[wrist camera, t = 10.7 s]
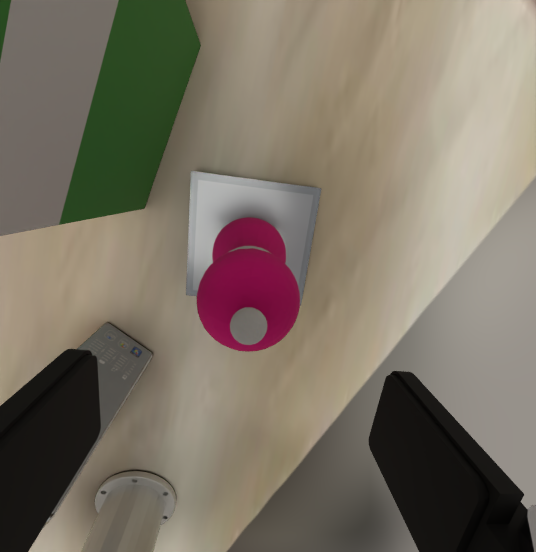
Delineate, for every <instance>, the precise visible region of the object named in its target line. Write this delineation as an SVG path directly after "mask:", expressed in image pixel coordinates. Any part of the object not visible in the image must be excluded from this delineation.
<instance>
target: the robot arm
mask: <svg viewBox="0 0 536 552" xmlns="http://www.w3.org/2000/svg"><path fill="white" fill-rule="evenodd" d="M100 429H101V418H100V399H99V381H98V362H97V357H96V356H95V355H92V353H91V351H89V350H79V349H67V350H66V351H64V352H63V353H62V354H61V355H60V356H58V357H57V358H56V359H55V360H54V361H53V362H51V363H50V364H49V365H48V366H47V367H45V368H44V369H43V370H42V371H41V372H40V373H38V374H37V375H36V376H35V377H34V378H33V379H31V380H30V381H29V382H28V383H27V384H26V385H24V386H23V387H22V388H21V389H20V390H19V391H17V392H16V393H15V394H14V395H13V396H12V397H10V398H9V399H8V400H7V401H6V402H5V403H3V404H2V405H1V406H0V552H28V551H29V549H30V548H31V546H32V544H33V543H34V541H35V540H36V538H37V536H38V535H39V533H40V531H41V530H42V528H43V527H44V525H45V523H46V522H47V520H48V518H49V517H50V515H51V514H52V512H53V510H54V509H55V507H56V505H57V504H58V502H59V501H60V499H61V497H62V496H63V494H64V492H65V491H66V489H67V488H68V486H69V484H70V483H71V481H72V479H73V478H74V476H75V475H76V473H77V471H78V470H79V468H80V466H81V465H82V463H83V462H84V460H85V458H86V457H87V455H88V453H89V452H90V450H91V449H92V447H93V445H94V444H95V442H96V440H97V439H98V436H99V433H100ZM369 446H370V450H371V452H372V454H373V456H374V458H375V460H376V462H377V464H378V467H379V468H380V471H381V473H382V475H383V477H384V479H385V481H386V483H387V485H388V487H389V490H390V492H391V494H392V496H393V498H394V500H395V502H396V504H397V506H398V508H399V510H400V512H401V515H402V516H403V519H404V520H405V523H406V525H407V527H408V529H409V531H410V533H411V535H412V538H413V540H414V542H415V543H416V546H417V548H418V550H419V552H536V505H532V506H531V507H530V508H529V509H528V510H527V509H526V508H525V507H524V505H523V504H522V503H521V500H522V498H523V496H524V494H523V492H522V491H521V490H520V489H519V488H518V487H517V486H516V485H515V484H514V483H513V481H511V479H510V478H509V477H508V476H507V475H506V474H505V473H504V472H503V471H502V469H501V468H500V467H499V466H498V465H497V464H496V463H495V462H494V461H493V460H492V459H491V458H490V456H489V455H488V454H487V453H486V452H485V451H484V450H483V449H482V448H481V447H480V446H479V445H478V443H477V442H476V441H475V440H474V439H473V438H472V437H471V436H470V435H469V434H468V433H467V432H466V431H465V429H464V428H463V427H462V426H461V425H460V424H459V423H458V422H457V421H456V420H455V418H454V417H453V416H452V415H451V414H450V413H449V412H448V411H447V410H446V409H445V408H444V406H443V405H442V404H441V403H440V402H439V401H438V400H437V399H436V398H435V397H434V396H433V395H432V393H431V392H430V391H429V390H428V389H427V388H426V387H425V386H424V385H423V384H422V383H421V382H420V380H419V379H418V378H417V377H416V376H415V375H414V374H413V373H411V372H401V371H393V372H392V373H391V374H390V375H388V376H387V377H386V379H385V383H384V386H383V390H382V393H381V397H380V400H379V404H378V407H377V412H376V414H375V418H374V422H373V425H372V429H371V432H370V436H369ZM175 505H176V495H175V492H174V490H173V488H172V487H171V486H170V484H169V483H168V482H166V481H165V480H164V479H162V478H161V477H159V476H157V475H154V474H151V473H147V472H141V471H129V472H123V473H119V474H117V475H114V476H112V477H110V478H109V479H107V480H106V481H105V482H104V483H103V484H102V485H101V487H100V488H99V490H98V492H97V494H96V497H95V508H96V510H97V513H98V516H97V518H96V520H95V522H94V524H93V526H92V528H91V531H90V533H89V535H88V537H87V539H86V541H85V543H84V546H83V548H82V550H81V552H153V551H154V547H155V543H156V540H157V536H158V532H159V529H160V525H162V524H164V523H165V522H166V521H167V520H169V518H170V517H171V516H172V514H173V512H174V509H175Z"/></svg>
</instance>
